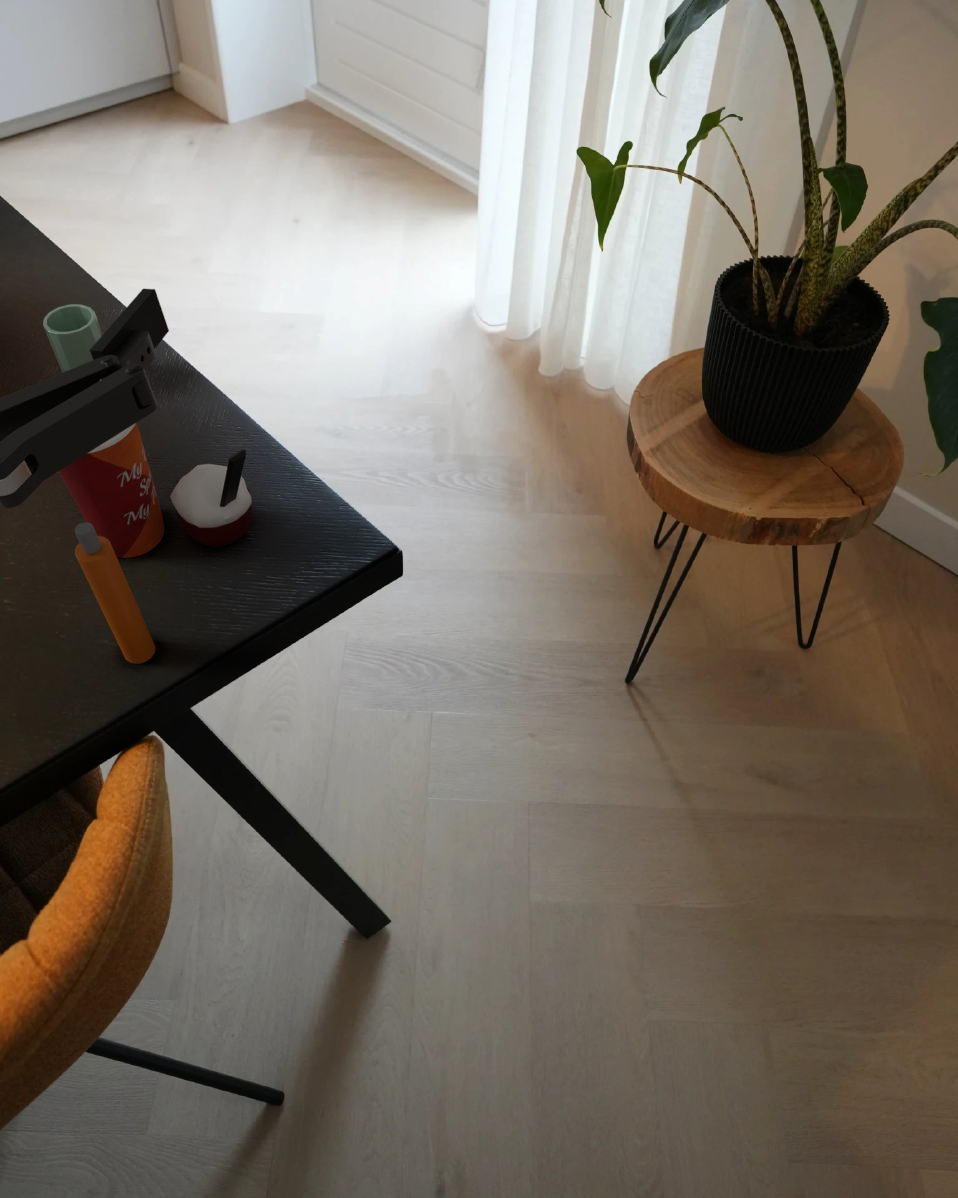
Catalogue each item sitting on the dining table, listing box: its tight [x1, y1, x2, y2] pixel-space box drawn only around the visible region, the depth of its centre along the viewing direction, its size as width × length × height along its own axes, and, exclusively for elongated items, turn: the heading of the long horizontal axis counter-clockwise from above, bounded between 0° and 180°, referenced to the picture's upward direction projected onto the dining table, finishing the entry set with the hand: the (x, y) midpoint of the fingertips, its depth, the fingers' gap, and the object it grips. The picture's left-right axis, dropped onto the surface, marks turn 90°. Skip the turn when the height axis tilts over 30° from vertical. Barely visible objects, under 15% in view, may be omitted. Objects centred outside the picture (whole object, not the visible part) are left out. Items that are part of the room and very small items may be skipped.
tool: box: [74, 521, 156, 665], centre depth 70 cm, size 2×2×14 cm
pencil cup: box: [42, 303, 104, 380], centre depth 94 cm, size 5×5×7 cm
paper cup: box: [58, 380, 165, 559], centre depth 78 cm, size 8×8×14 cm
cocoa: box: [169, 449, 253, 548], centre depth 79 cm, size 10×6×12 cm, turn 28°
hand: (53, 304), depth 58 cm, fingers open, 13 cm apart
